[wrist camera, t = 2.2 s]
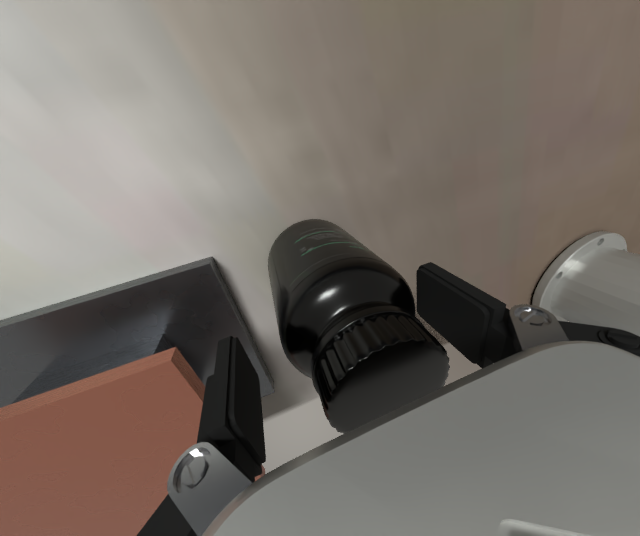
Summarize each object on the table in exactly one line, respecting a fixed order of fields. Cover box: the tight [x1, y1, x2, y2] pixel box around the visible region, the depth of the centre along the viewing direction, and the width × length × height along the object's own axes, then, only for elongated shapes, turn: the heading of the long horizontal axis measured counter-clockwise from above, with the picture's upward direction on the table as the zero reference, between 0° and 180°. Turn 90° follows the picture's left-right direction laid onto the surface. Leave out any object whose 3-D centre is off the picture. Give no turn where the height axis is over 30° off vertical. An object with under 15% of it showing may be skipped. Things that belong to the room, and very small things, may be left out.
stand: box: [0, 257, 275, 536], centre depth 15 cm, size 18×14×8 cm
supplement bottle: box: [268, 219, 450, 434], centre depth 13 cm, size 7×7×12 cm
